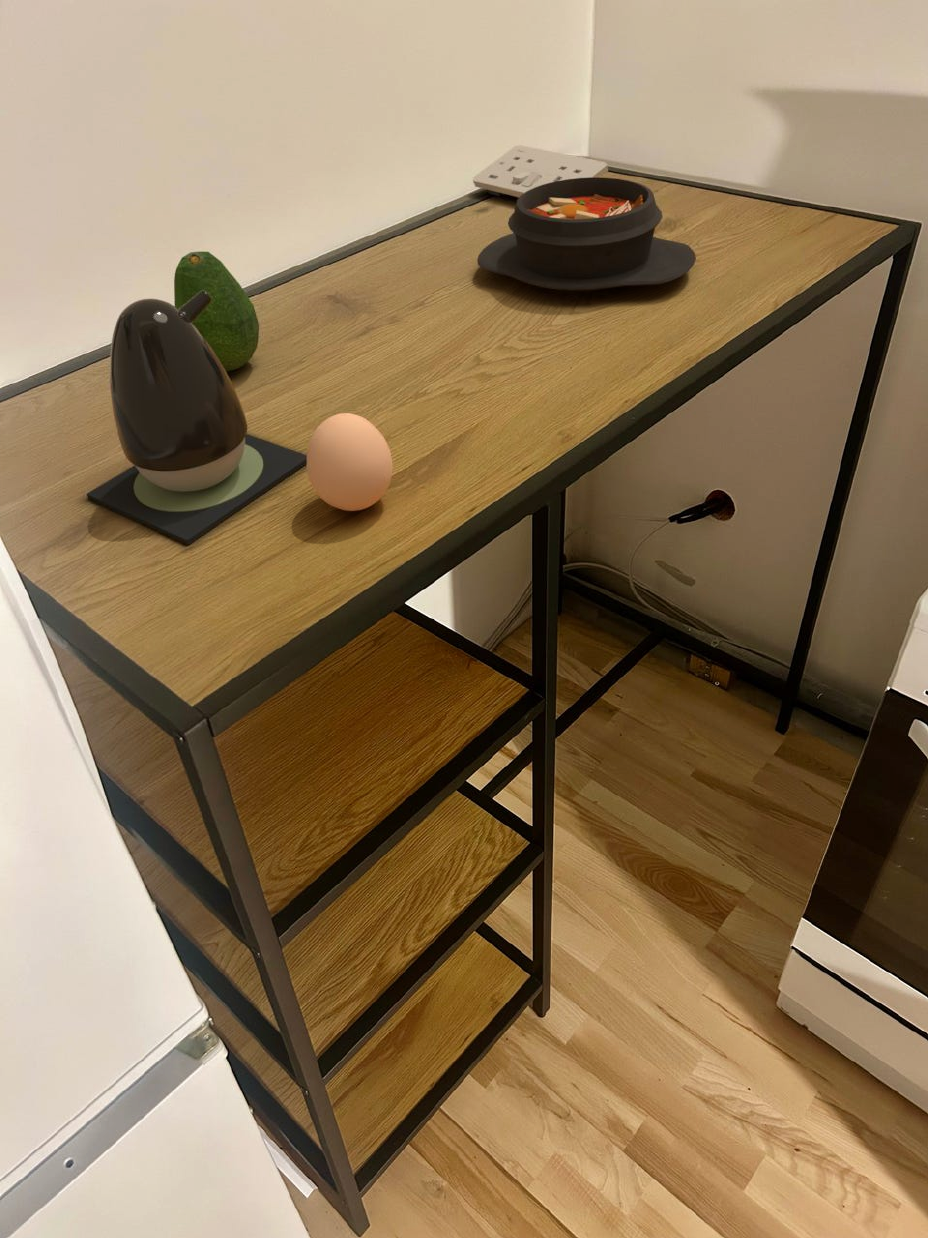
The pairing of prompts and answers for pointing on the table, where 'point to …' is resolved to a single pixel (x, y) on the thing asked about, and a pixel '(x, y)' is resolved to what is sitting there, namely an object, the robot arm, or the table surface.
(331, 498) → the egg
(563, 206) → the casserole
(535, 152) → the wall socket
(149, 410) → the pump dispenser
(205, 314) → the avocado
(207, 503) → the placemat
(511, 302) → the table surface
